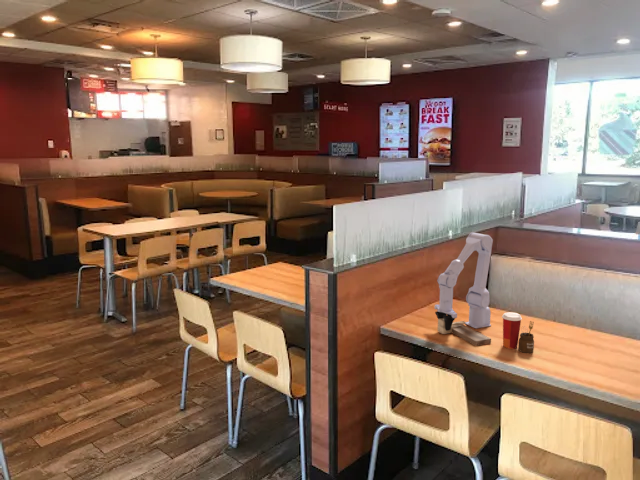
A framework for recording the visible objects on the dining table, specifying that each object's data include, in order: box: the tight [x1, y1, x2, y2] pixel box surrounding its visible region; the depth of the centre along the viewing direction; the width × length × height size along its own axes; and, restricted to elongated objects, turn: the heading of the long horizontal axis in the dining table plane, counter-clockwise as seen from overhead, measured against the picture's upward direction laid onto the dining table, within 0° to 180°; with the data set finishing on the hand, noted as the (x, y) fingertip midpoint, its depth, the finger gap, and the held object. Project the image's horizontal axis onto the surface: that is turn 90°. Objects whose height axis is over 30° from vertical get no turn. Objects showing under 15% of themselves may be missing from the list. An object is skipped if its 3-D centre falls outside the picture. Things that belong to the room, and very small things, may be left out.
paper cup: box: [501, 311, 523, 350], centre depth 214 cm, size 8×8×14 cm
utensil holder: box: [517, 320, 535, 354], centre depth 210 cm, size 6×6×12 cm
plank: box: [452, 324, 492, 346], centre depth 228 cm, size 8×22×2 cm, turn 21°
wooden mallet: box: [437, 318, 466, 335], centre depth 233 cm, size 13×4×6 cm, turn 111°
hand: (444, 328), depth 232 cm, fingers closed on wooden mallet, 4 cm apart
